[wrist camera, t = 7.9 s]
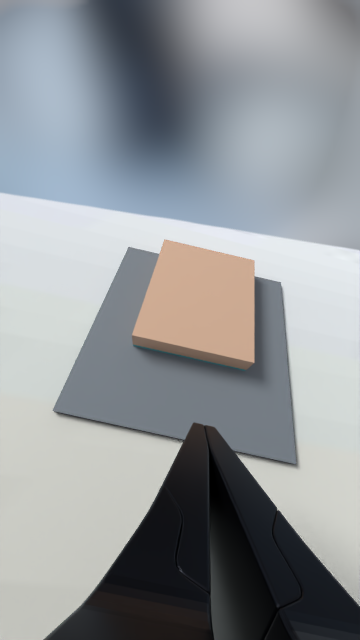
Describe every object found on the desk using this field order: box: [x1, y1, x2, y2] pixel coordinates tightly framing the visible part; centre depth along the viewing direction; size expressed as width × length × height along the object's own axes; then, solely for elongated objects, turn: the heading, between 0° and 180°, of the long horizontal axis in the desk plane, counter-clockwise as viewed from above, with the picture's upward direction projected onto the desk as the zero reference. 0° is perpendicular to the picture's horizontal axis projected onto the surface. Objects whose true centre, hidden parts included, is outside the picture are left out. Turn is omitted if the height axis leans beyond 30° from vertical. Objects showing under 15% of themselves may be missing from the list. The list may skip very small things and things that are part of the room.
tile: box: [132, 240, 254, 371], centre depth 22 cm, size 2×10×12 cm
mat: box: [53, 247, 296, 464], centre depth 21 cm, size 18×18×1 cm
